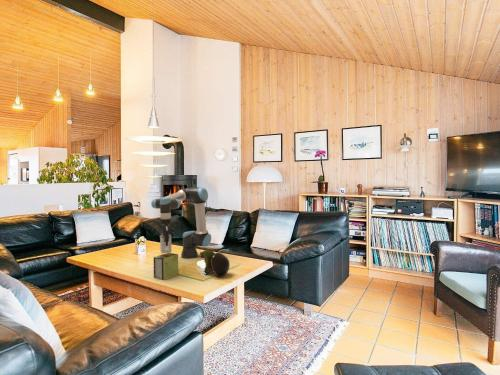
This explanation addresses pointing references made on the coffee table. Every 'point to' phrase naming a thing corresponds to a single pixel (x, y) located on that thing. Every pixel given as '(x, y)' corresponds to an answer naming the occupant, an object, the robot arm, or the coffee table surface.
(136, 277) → the coffee table surface
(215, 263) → the frog statue
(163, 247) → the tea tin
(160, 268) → the protein box
